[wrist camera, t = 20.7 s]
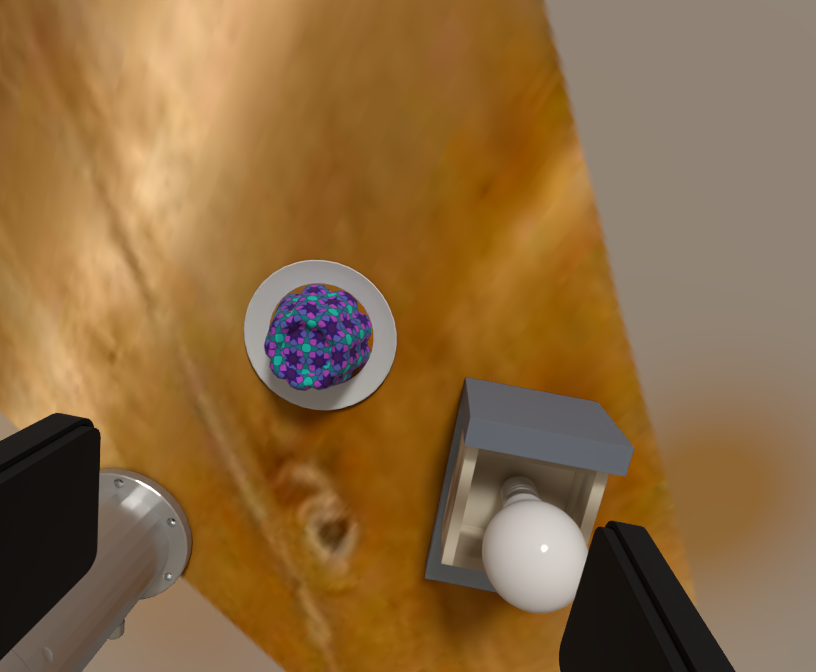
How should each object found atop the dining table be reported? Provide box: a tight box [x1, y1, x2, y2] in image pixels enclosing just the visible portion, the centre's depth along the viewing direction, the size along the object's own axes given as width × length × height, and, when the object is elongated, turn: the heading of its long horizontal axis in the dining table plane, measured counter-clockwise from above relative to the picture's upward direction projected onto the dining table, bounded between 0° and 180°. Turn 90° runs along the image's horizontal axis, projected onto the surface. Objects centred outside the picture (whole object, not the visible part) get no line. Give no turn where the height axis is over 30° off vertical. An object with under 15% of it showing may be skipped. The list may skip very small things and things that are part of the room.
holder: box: [441, 429, 609, 572], centre depth 38 cm, size 10×10×5 cm
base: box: [425, 377, 634, 593], centre depth 38 cm, size 18×10×8 cm, turn 170°
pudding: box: [244, 260, 396, 410], centre depth 38 cm, size 12×12×5 cm
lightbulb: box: [482, 476, 588, 614], centre depth 34 cm, size 6×6×11 cm
